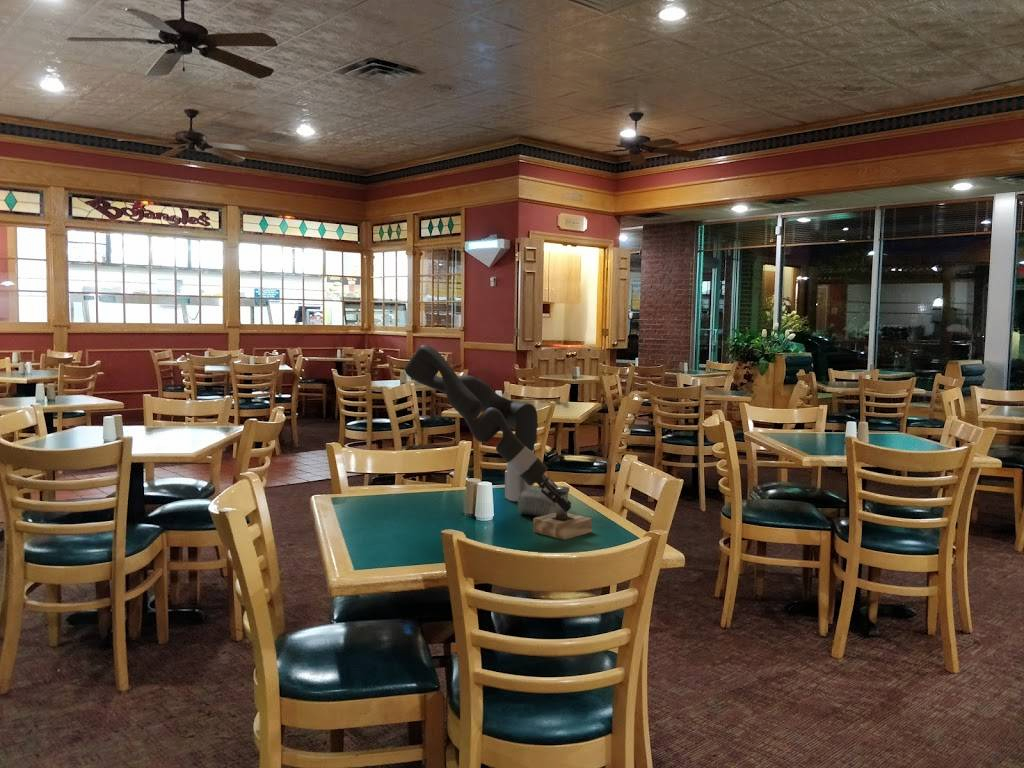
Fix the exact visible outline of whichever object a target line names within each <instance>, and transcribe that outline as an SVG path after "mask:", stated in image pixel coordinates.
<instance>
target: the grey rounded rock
mask: <svg viewBox="0 0 1024 768" xmlns="http://www.w3.org/2000/svg"><path fill="white" fill-rule="evenodd" d="M517 509H518V511H519V513H521V514H522V515H528V516H534V517H541V516H544V515H548V514H552V513H556V503H553V501H552V500H550V499H549V498H548V497H547V496H546V495H545V494H544V493H542V491H541V490H540V489H539V490H538V489H534V490H524V491H523V492H522V493H521V494H520V496H519V499H518V502H517Z"/></svg>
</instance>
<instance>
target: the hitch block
mask: <svg viewBox="0 0 1024 768" xmlns="http://www.w3.org/2000/svg"><path fill="white" fill-rule="evenodd" d="M532 519H533V521H532V523H533V524H532V525H533V527H532V532H533V533H537V534H540V535H543V536H544V535H545V536H547V537H552V538H556V539H560V540H564V541H565V540H569V539H572V538H575V537H578V536H582V535H586V534H588V533H592V532H593V531H592V528H593V527H592V525H593V523H592V521H593V519H592V517H587V516H584V515H583V516H582V515H578V514H573V513H570V512H568V520H567V521H564V522H563V521H559V520H556V512H555V513H552V514H548V515H544V516H541V517H538V516H536V517H534V518H532Z"/></svg>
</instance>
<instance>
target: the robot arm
mask: <svg viewBox="0 0 1024 768" xmlns="http://www.w3.org/2000/svg"><path fill="white" fill-rule="evenodd" d="M404 367H405V368H404V372H405V374H406V375H407V376H408V378H411V379H412V380H413V381H415V382H417V383H419V384H422V385H424V386H426V387H428V388H431V389H434V390H436V391H438V392H440V393H443V394H445V395H446V398H447V400H448V403H449V404H450V406H451V407H452V408H453V409H454V410H455V411H456V412H457V413H458V414H459V415H460V416H461V417H462V418H463V419H464V420H465V422H466V425H467V426H468V428H469V431H470V433H471V434H472V436H473V438H474V439H475V440H476V441H478V442H479V443H484V444H485V443H488V442H490V440H491V439H493V438H494V437H495V436H496V435H497V434H498V433H499V431H501V433H502V436H501V438H500V440H499V442H498V443H497V445H496V447H495V451H496V452H497V453H498V454H499V455H500V457H501V458H503V460H505V461H506V470H505V471H504V498H505V499H506V500H508V501H510V502H517V503H518V499H519V496H520V494H521V493H522V492H523V491H524V490H535V483H536V484H537V485H538V489H539V490H540V491H542V493H544V494H545V495H546V496H547V497H548V498H549V499H550V500H552V501H553V503H557V504H558V505H559V506H560V507H561V508H562V509H563V510H564V511H565V512H567V511H568V512H569V511H570V510H571V508H572V506H571V505H572V502H571V501H570V500H569V499H568V502H567V501H566V500H565V499H564V498H563V497H562V496H561V495H560V494H559V493H558V489H557V488H556V487H557V486H558V485H557V484H556V483H555V481H554V480H553V479H552V478H551V476H549V475H548V476H546V475H545V473H546V472H547V470H548V466H547V465H545V464H544V462H543V461H542V460H541V459H540V458H539V457H538V456H537V455H536V454H535V444H536V442H537V435H538V412H537V409H536V407H535V406H534V405H533V404H531V403H529V402H521V401H514V400H510V399H508V398H505V397H504V396H502V395H499V394H498V393H496V391H495V390H494V389H493V388H492V387H491V385H489V384H488V383H487V382H485V381H483V380H481V379H480V378H477V377H476V376H473V375H470V374H469V375H466V374H465V375H457V373H456V372H455V370H454V369H453V368H452V367H451V365H450V364H449V362H448V361H447V360H446V359H445V357H444V356H443V355H442V354H441V353H440V352H439V351H438V350H437V349H435V348H434V347H432V346H430V345H427V344H421V345H420V346H419V347H418V348H417V349H416V351H415V353H413V355H412V357H411V358H410V359H409V360H408V362H407V363H406V365H405V366H404ZM438 373H440V375H441V376H439V375H437V374H438ZM481 412H482V413H481ZM512 429H514V432H513V431H512Z"/></svg>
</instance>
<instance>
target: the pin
mask: <svg viewBox="0 0 1024 768" xmlns="http://www.w3.org/2000/svg"><path fill="white" fill-rule="evenodd" d="M556 488H557V489H558V493H559V494H560V495H561V496H562V497H563V498H564V499H565V500H566V501H567V502H568V500H569V492H570V487H569V486H567V485H566V486H561V485H560V486H558V485H557V487H556ZM555 513H556V520H559V521H563V522H564V521H567V520H568V513H569V510H568V511H567V512H565V511H564V510H563V509H562V508H561V507H560V506H559V505H558V504H557V503H556V512H555Z"/></svg>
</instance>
